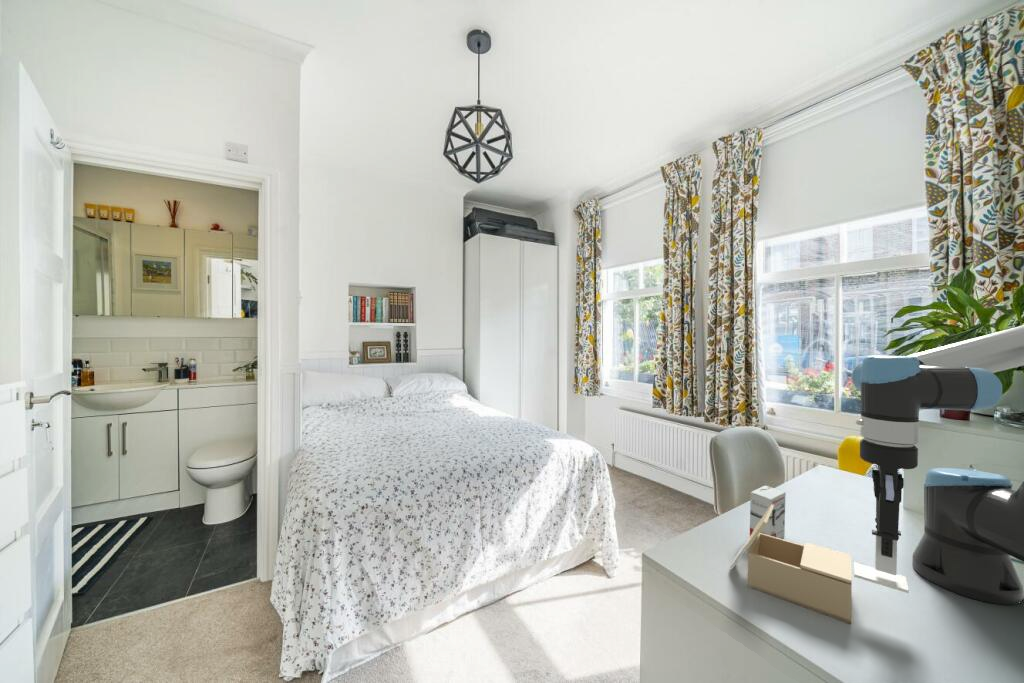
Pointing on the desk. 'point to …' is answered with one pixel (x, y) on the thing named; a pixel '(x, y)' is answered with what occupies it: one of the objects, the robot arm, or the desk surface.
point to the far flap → (753, 535)
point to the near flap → (846, 567)
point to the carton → (795, 578)
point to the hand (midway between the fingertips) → (885, 570)
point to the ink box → (760, 505)
